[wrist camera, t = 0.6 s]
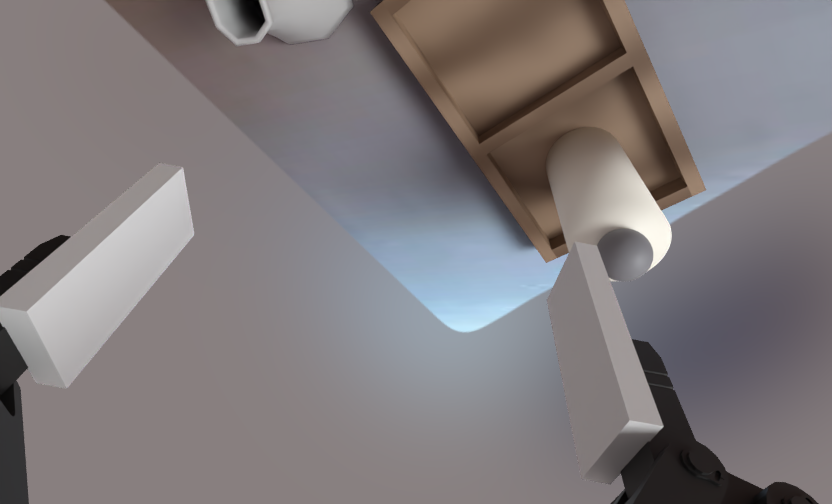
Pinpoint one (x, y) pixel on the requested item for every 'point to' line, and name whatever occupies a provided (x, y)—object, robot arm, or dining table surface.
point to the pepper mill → (606, 203)
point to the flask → (277, 19)
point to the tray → (541, 93)
